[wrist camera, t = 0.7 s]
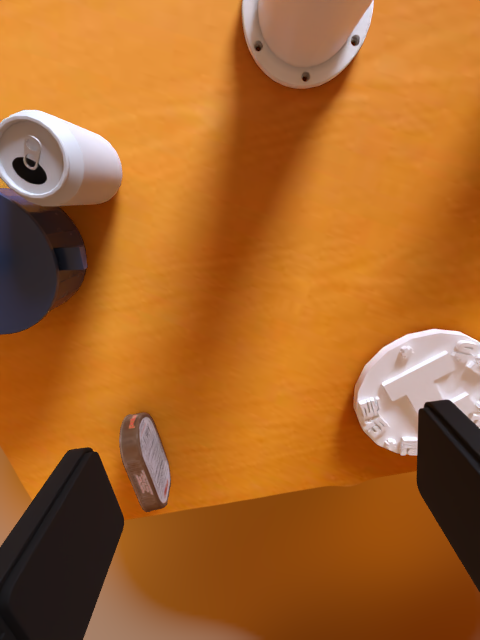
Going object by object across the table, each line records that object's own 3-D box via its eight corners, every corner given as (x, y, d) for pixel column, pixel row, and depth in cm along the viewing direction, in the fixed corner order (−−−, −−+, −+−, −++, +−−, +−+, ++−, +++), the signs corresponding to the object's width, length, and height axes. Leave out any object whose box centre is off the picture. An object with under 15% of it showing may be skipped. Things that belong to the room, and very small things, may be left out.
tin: (130, 403, 49) (108, 443, 41) (150, 399, 49) (132, 439, 41) (159, 478, 54) (144, 526, 46) (177, 475, 54) (166, 523, 46)
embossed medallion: (494, 313, 43) (511, 321, 40) (490, 430, 50) (504, 444, 47) (343, 344, 45) (349, 354, 42) (358, 454, 52) (365, 468, 49)
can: (51, 184, 38) (-29, 180, 27) (70, 118, 36) (-9, 83, 24) (112, 215, 39) (59, 223, 28) (134, 153, 37) (86, 135, 26)
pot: (-72, 193, 39) (-142, 192, 32) (95, 185, 38) (61, 183, 31) (-31, 309, 44) (-83, 331, 37) (117, 304, 43) (92, 325, 36)
